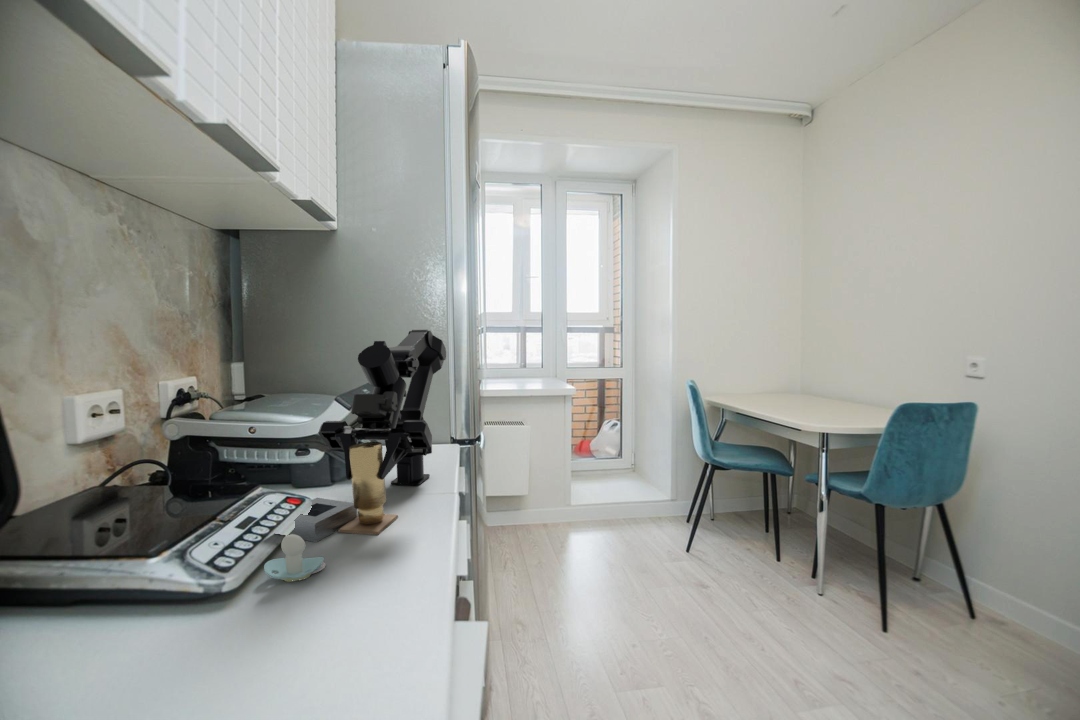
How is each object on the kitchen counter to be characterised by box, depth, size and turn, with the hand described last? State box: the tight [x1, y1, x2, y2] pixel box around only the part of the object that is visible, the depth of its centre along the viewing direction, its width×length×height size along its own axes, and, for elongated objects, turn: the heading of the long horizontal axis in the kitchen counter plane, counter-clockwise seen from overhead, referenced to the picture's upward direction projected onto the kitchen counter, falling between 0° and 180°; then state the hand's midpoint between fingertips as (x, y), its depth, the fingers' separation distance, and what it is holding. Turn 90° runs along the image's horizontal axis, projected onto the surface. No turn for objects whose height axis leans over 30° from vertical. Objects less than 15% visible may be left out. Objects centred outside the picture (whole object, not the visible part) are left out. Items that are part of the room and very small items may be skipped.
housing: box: [291, 497, 358, 543], centre depth 79 cm, size 9×9×3 cm
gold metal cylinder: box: [349, 441, 387, 524], centre depth 79 cm, size 5×5×13 cm
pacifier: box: [263, 534, 327, 582], centre depth 63 cm, size 7×6×6 cm
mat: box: [338, 513, 399, 536], centre depth 79 cm, size 7×7×1 cm
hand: (364, 478), depth 78 cm, fingers closed on gold metal cylinder, 5 cm apart
